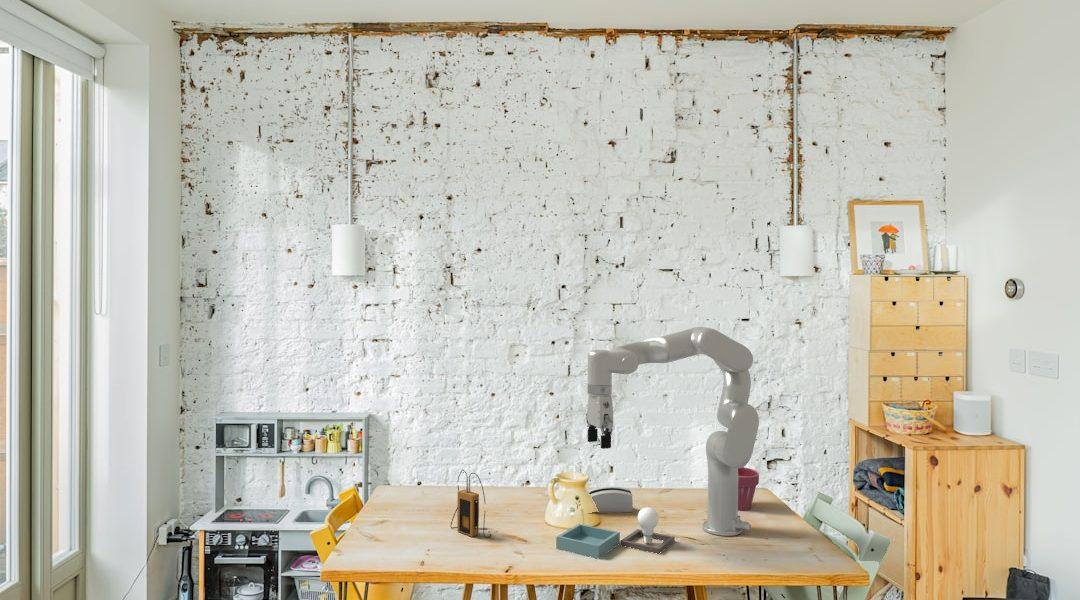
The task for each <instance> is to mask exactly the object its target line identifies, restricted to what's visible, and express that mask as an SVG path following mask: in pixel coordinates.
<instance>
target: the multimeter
mask: <svg viewBox="0 0 1080 600" xmlns="http://www.w3.org/2000/svg"><path fill="white" fill-rule="evenodd" d="M462 472H464V473H465V475H466V488H465V489H462V490H460V488H459V486H457V507H456V510H455V511H454V513H453V516H452V519H451V522H450V529H455V528H456V529H457V530H456V531H457V532H458V533H460V534H464V535H466V536H469V537H471V538H472V537H475V536H478V535H479V530H483V537H484V538H486V535H485V530H488V534H489V536H488V538H490V537H492V533H491V530H490V529H492V527H485V525H483V527H479V526H480V525H479V523H480V522H479V521H480V520H479V519H480V518H479V517H480V513H479V512H480V494H479V493H477V492H474V491H471V480H470V479H471V475H473V474H474V475H475V476H476V477H477V478H478V480H479V482H480V486H481V490H482V494H483V501H484V503H486V497H485V492H484V487H483V483H482V481H481V478H480V477H479V475H478V474H477V473H475V472H471V473H470V474H469V476H468V473H467V471H466V470H464V469H461V471H460V472H459V474H458V477H457V481H459V480H460V476H461V473H462ZM456 514H457V516H456V517H457V519H456V520H457V521H456V522H457V524H456V525H457V526H454V527H452V524H453V520H454V518H455V515H456ZM483 517H484V518H483V524H485V519H486V512H484V514H483Z"/></svg>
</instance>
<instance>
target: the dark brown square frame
mask: <svg viewBox="0 0 1080 600" xmlns="http://www.w3.org/2000/svg"><path fill="white" fill-rule="evenodd" d="M639 536H640V537H643V536H644V535H643V532H642V529H639V528H637V529H636V530H634V531H632V532H631V533H630V534H628V535H626V537H624V538H623V539H620V544H619V546H620V545H622V546H621V547H624V546H626V547H625V548H628V547H631V548H630V549H633V548H634V550H637V549H639V551H642V550H643V552H646V551H648V552H647V553H651V552H653V553H652V554H655V553H657V554H656V555H660V554H661V553H662V552H663V550H664V549H665V550H666V549H668V548H669V547H670V546H671V545H673V544H674V543H675V542H676V541H675V539H676V537H675V536H673V535H667V534H662V533H659V532H658V533H657V532H654V531H653V534H652V540H657V539H659V540H658V541H662V540H663V542H661V543H660V544H659V545H658V546H654V545H650V544H646V543H645V544H644V543H639V542H634V540H635V539H637V538H638V537H639ZM636 537H637V538H636ZM673 542H674V543H673ZM669 545H670V546H669ZM668 546H669V547H668ZM665 550H664V551H665ZM660 552H661V553H660ZM659 553H660V554H659Z"/></svg>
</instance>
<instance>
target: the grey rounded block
mask: <svg viewBox="0 0 1080 600" xmlns="http://www.w3.org/2000/svg"><path fill="white" fill-rule="evenodd" d="M588 492H589V494H590V495H591V497H592V499H593V501H594V502H595V504H596V507H597V509H598V511H599V512H600V513H631V512H634V506H633V494H632V491H631V490H630V489H629V488H626V487H623V486H622V487H621V486H617V485H616V486H613V485H611V486H610V485H609V486H607V485H606V486H600V487H595V488H592V489H589V491H588Z"/></svg>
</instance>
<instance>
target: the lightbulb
mask: <svg viewBox="0 0 1080 600" xmlns="http://www.w3.org/2000/svg"><path fill="white" fill-rule="evenodd" d="M659 519H660V518H659V514H658V512H657V510H655V509H654V508H652V507H650V506H649V507H647V506H646V507H643V508H641V509H640V510H639V512H638V513H637V522H638V524H639V526H640V528H641V530H642V532H643V535H644V536H642V537H643V540H642V541H643V544H644V543H645V545H650V544H652V543H653V538H652V534H653V532H654V530H655V528H656V527H657V526H658V523H659Z"/></svg>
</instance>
